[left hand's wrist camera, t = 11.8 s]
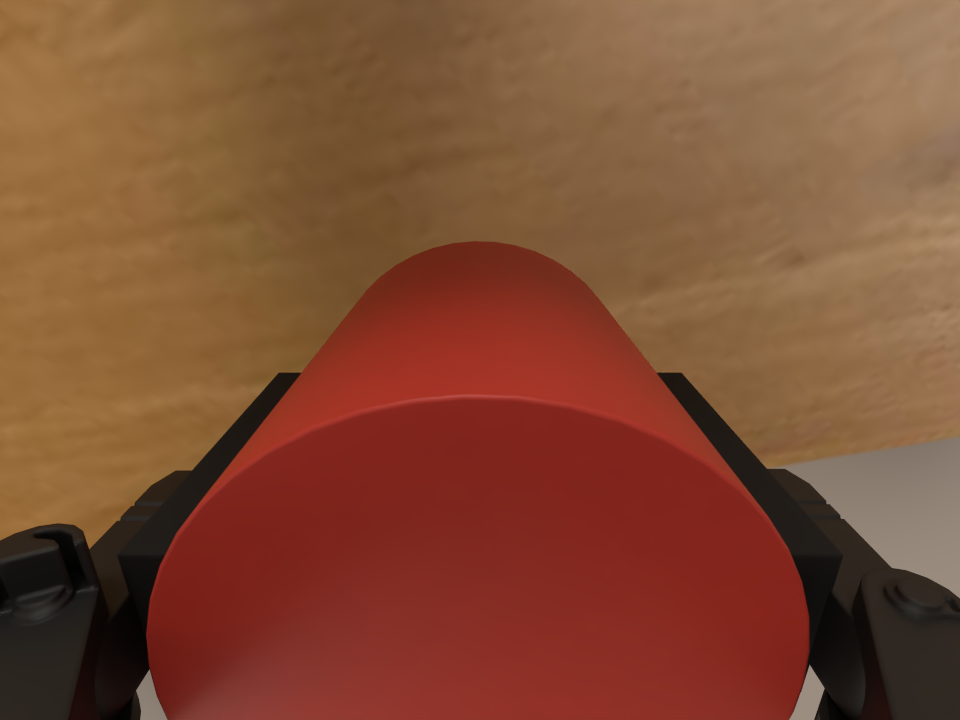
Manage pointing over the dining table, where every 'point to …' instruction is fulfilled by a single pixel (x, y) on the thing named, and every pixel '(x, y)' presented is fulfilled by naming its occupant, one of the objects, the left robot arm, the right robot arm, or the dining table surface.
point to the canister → (478, 528)
